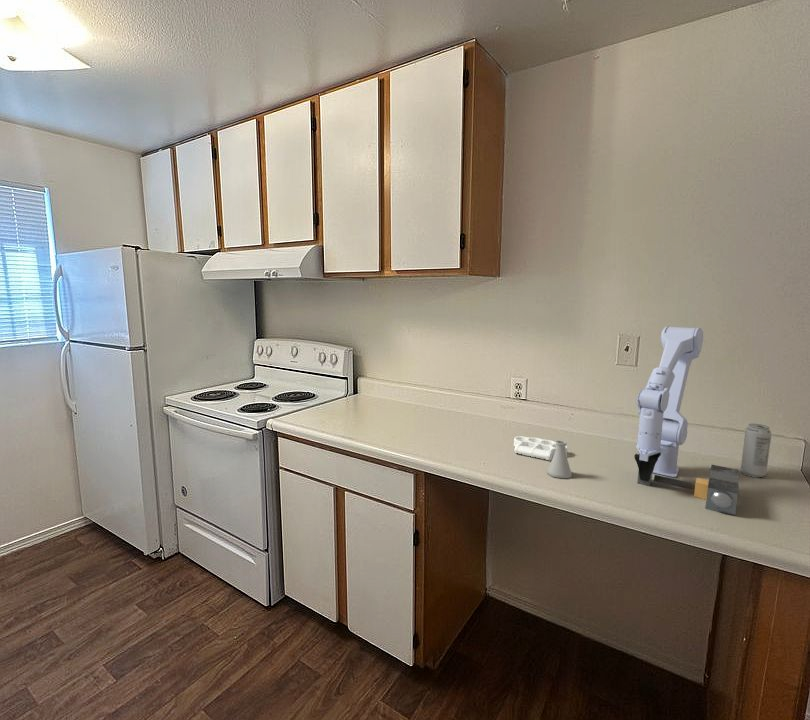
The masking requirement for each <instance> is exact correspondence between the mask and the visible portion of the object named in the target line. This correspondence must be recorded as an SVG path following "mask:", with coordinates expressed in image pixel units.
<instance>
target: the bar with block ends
mask: <svg viewBox="0 0 810 720" xmlns="http://www.w3.org/2000/svg"><path fill="white" fill-rule="evenodd" d="M652 471H653V469H652ZM637 475H638V476H637V484H640V485H645V486H648V487H650V485H651V484H652V480H653V481H654V482H656V483H659V484H660V483H661V484H665V485H669V486H674V487H678V488H683V489H687V490H691V491H692V490H694V493H693V497H694V498H698V499H702V500H706V499H707V490H708V482H709V479H705V478H701V477H696V479H695V483H694V482H690V481H685V480H680V479H676V478H673V477H672V478H671V477H669V476H664V475H660V474H654V476H653V473H651V477H650V479H649V481H648V482H647V481H643V480H640V476H639V470H638V473H637Z"/></svg>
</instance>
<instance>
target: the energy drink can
mask: <svg viewBox="0 0 810 720" xmlns="http://www.w3.org/2000/svg"><path fill="white" fill-rule="evenodd" d="M743 439H744V440H743V448H742V455H741V456H742V457H741V464H740V470H741V471H742V474H743V475H746V476H748V477H751V476H752V477H751V478H756V477H762V478H764V476H766V475H767V470H768V462H769V455H770V450H771V449H770V448H771V441H772V440H771V439H772V431H771V430H770V426H769V425H765V424H761V423H749V424H748V426H747V427H746V428H745V432H744V438H743Z"/></svg>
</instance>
